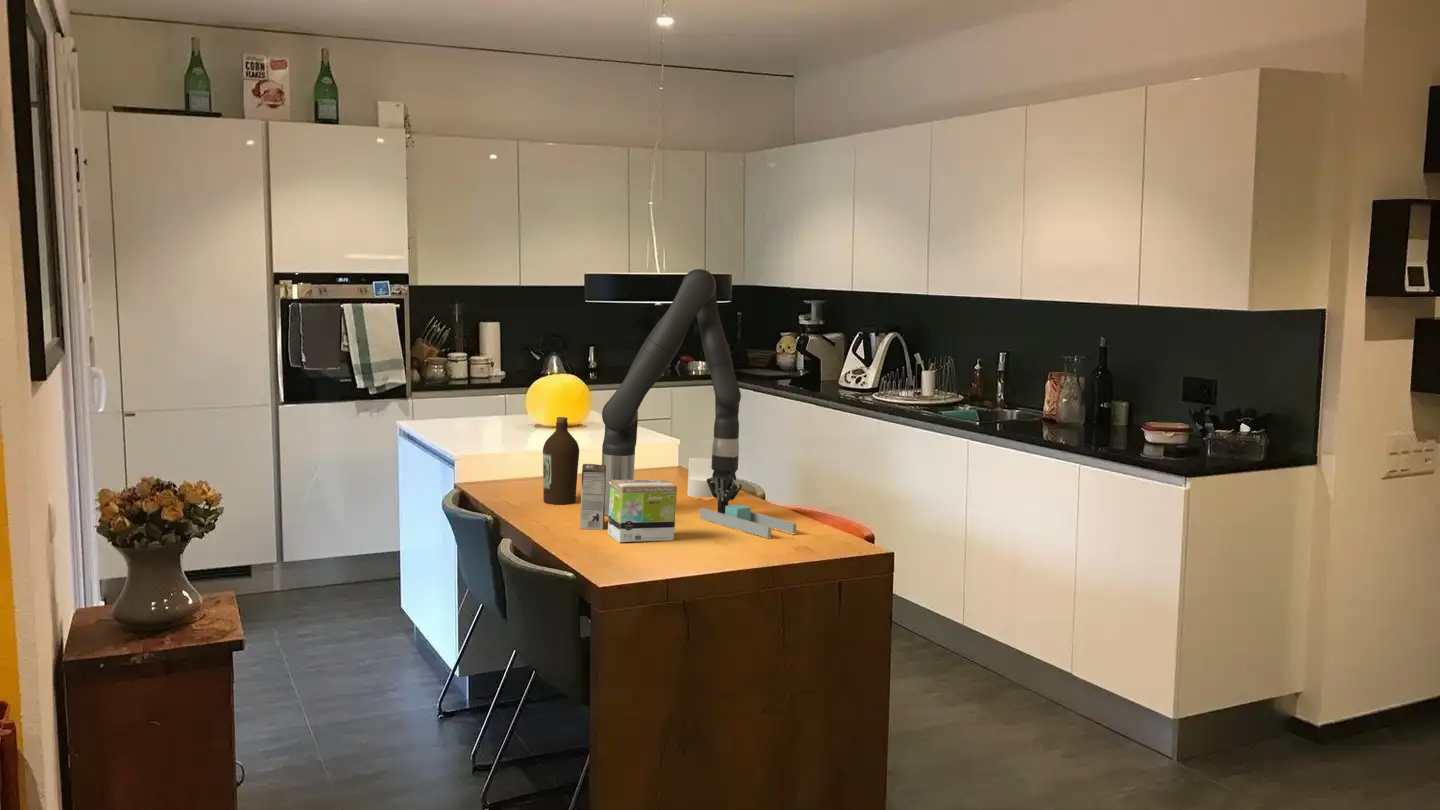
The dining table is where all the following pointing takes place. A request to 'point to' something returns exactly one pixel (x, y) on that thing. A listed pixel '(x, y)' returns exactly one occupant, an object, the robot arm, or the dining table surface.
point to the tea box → (642, 510)
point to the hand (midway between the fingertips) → (722, 514)
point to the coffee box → (593, 496)
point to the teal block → (738, 511)
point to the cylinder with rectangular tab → (699, 477)
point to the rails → (749, 522)
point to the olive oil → (560, 466)
